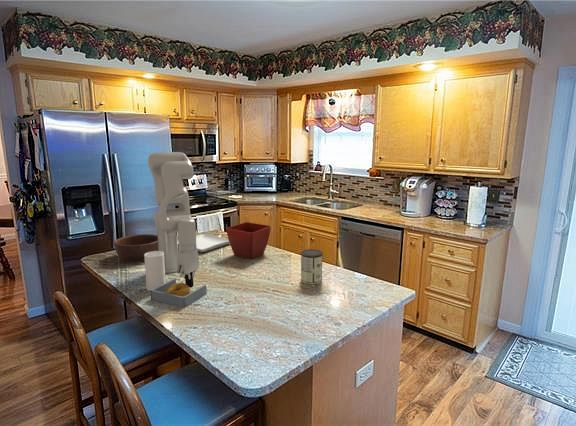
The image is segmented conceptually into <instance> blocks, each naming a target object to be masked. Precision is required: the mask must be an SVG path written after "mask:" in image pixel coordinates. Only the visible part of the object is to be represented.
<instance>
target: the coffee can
mask: <svg viewBox="0 0 576 426" xmlns="http://www.w3.org/2000/svg"><path fill="white" fill-rule="evenodd" d="M323 253H324V252H323V251H322V250H320V249H316V248H314V249H312V248H311V249H309V248H308V249H303V250H301V252H300V258H301V259H300V282H301V283H304V284H307V285H317V284H320V283H322V282H323V255H324V254H323Z"/></svg>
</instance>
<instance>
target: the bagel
mask: <svg viewBox="0 0 576 426" xmlns="http://www.w3.org/2000/svg"><path fill="white" fill-rule="evenodd" d="M166 293H168V294H173V295H177V296H182V297H184V296H186V295H188V294H189V293H191V288H190V287H189V286H188V285H187V284H185V282H176V284H174V285H172V286H171V287H170V288H169V289H168V290H167V291H166Z"/></svg>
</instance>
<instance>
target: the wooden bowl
mask: <svg viewBox="0 0 576 426" xmlns="http://www.w3.org/2000/svg"><path fill="white" fill-rule="evenodd" d="M113 247H114V251H115V253H116V255H117V257H118V259H119V260H121V261H122V262H129V263H140V262H145V258H144V254H145V253H148V252H152V251H159V249H158V236H157V235H156V234H149V233H148V234H145V233H143V234H133V235H132V234H131V235H126V236H123V237H122V236H121V237H120V238H117V239H115V240H114V241H113Z"/></svg>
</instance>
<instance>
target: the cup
mask: <svg viewBox="0 0 576 426" xmlns="http://www.w3.org/2000/svg"><path fill="white" fill-rule="evenodd" d="M144 258H145V261H144V270H145V284H146V290H147V291H149V292H150V290H152V289H154V288H156V287H158V286H160V285H162V284H164V283H167V282H166V273H165V264H164V252H161V251H152V252H148V253H145V254H144Z"/></svg>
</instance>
